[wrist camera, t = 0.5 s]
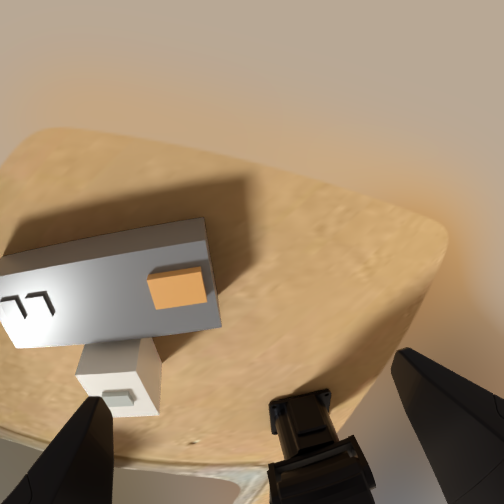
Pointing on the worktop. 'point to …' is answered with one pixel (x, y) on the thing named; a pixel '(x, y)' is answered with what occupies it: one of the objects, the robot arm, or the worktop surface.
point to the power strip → (111, 287)
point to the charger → (123, 376)
